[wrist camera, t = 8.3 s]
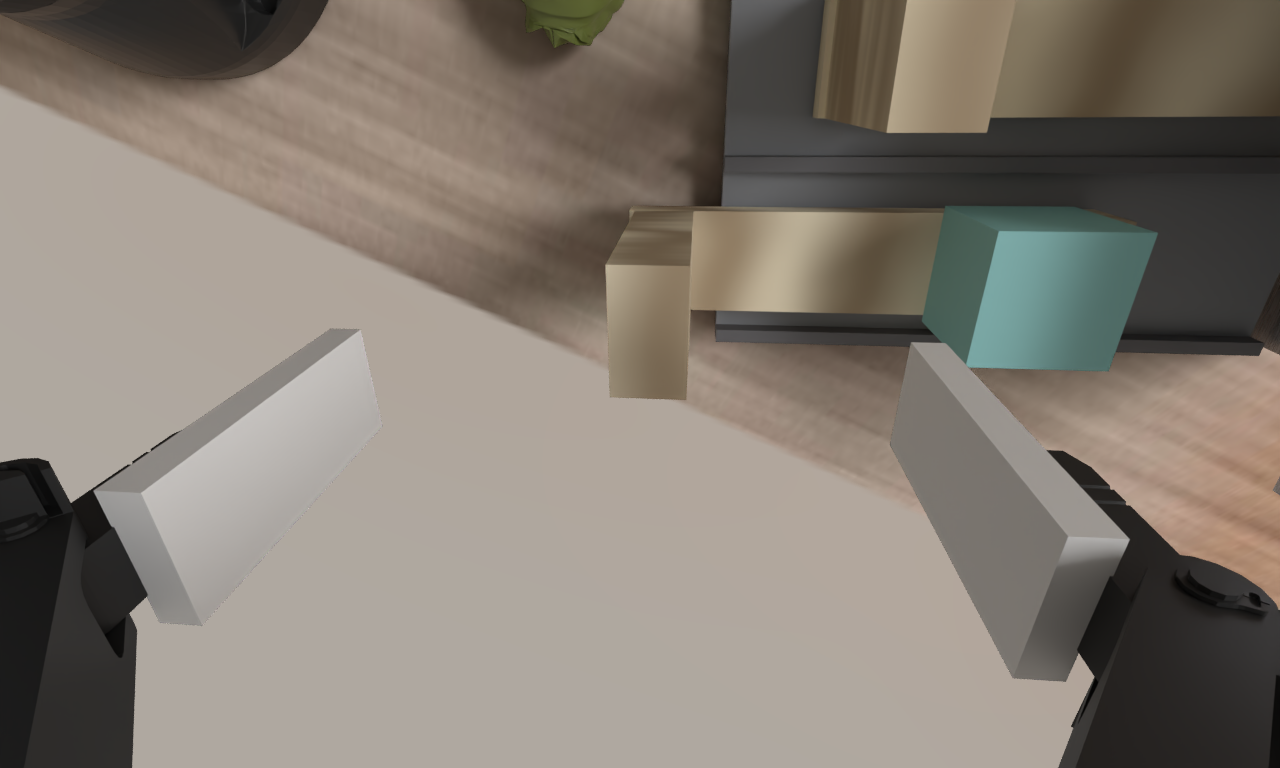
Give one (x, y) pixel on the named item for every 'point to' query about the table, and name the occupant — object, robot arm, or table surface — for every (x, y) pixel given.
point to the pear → (570, 19)
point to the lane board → (1008, 190)
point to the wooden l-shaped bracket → (754, 275)
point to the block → (1034, 286)
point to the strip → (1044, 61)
